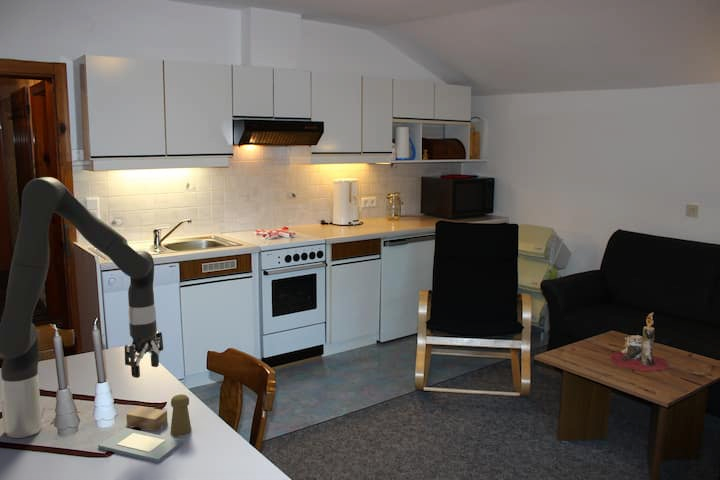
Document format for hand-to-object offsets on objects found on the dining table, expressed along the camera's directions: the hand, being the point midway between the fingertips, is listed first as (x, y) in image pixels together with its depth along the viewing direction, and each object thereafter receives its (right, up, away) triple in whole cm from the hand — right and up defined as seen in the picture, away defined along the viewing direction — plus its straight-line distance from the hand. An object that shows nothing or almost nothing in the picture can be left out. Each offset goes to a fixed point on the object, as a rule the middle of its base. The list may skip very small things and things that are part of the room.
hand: (145, 371), depth 184 cm
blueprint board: (+2, -19, -10) cm, 21 cm away
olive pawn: (+11, -18, -1) cm, 21 cm away
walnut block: (-1, -17, +3) cm, 17 cm away
